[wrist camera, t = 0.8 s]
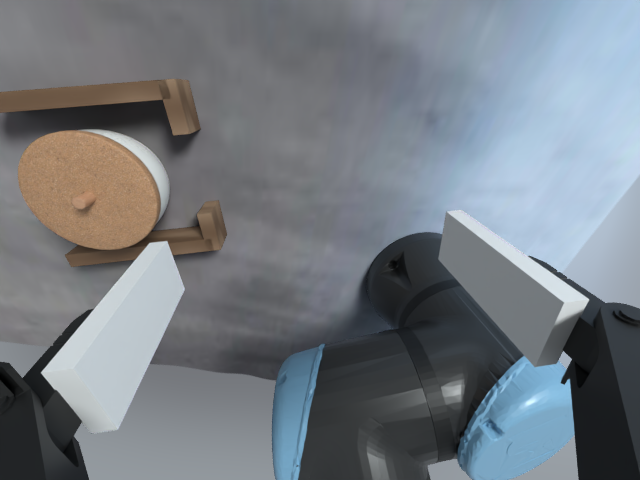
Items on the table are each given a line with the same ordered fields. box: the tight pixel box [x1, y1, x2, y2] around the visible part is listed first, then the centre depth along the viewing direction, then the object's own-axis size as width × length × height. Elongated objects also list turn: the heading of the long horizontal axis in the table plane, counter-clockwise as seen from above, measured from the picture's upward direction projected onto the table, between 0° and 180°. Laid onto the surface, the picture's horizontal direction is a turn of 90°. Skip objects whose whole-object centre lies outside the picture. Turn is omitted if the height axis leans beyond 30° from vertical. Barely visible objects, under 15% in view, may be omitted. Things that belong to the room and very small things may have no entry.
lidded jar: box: [18, 129, 170, 250], centre depth 27 cm, size 11×11×9 cm
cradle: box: [0, 79, 227, 267], centre depth 30 cm, size 17×16×4 cm
